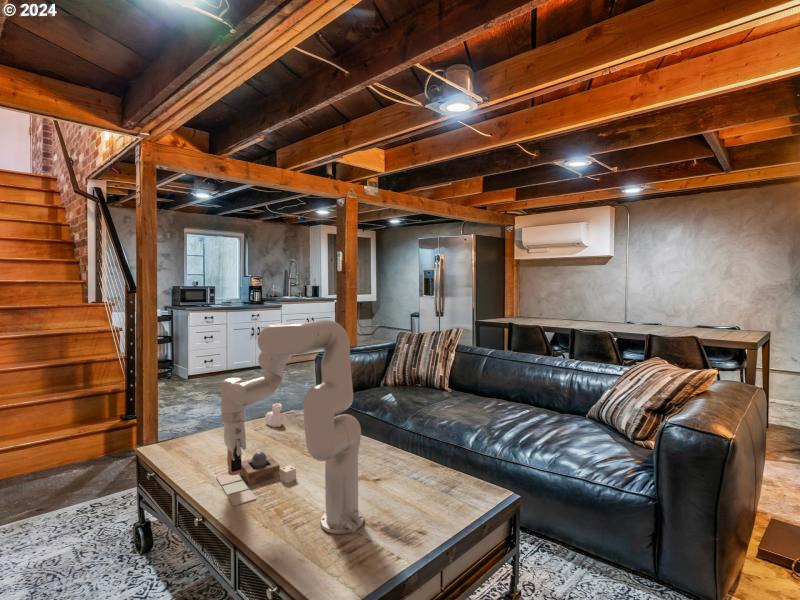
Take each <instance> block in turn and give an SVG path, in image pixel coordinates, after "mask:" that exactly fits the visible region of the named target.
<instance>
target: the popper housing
mask: <svg viewBox="0 0 800 600" xmlns="http://www.w3.org/2000/svg"><path fill="white" fill-rule="evenodd" d="M266 457H267V466H264V467H260V468H256V469H253V468H252V458H251V459H248V460H242V461H241V466H242V469H241V473H239V475H240V476H242V477H243V479H244V480H245V482H246V483H247V484H248V485H252V484H253V485H254V484H257V483H260V482H264V481H266V480H267V479H268V480H271V479H274V478H277V477H280V468H281V467H280V466H281V465H280V464H279V463H278V462H277V461H276V460H275V459H274V458H273V457H272V456H271V455H270V454H267V455H266Z"/></svg>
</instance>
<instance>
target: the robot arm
mask: <svg viewBox="0 0 800 600" xmlns="http://www.w3.org/2000/svg"><path fill="white" fill-rule="evenodd" d="M257 347H258V348H259V350H260V351H261V352H260V353H259V355H258V358H257V360H258V364H259V366H260V368H262V369H263V370H264V372H263V374H262V375H261V376H260V377H257V378H253V379H249V380H247V381H246V380H244V379H243V378H242V377H229V378H225V379H223V380H222V381H221V383H220V399H221V401H220V405H221V406H220V408H221V411H220V412H221V422H222V423H223V438H224V445H225V446H226V448H227V449H226V452H227V453H226V454H227V457H226V458H227V463H228V449H229V450H230V451H231V452H232V460H231V471H232V472H235V471H239V470H241V469H242V466H241V462H242V450H246V449H247V439H246V436H247V435H246V429H245V428H246V427H245V426H246V425H245V420H246V407H247V406H250V405H253V404H256V403H258V402H261V401H265V400H266V399H268V398H271V396H272V395H273V394H274V393H275V392H276V391H277V390H278V388H279V387H280V385H281V384H282V382H283V381H284V373H285V372H284V367H285V366H286V365H287V364H288V362H289V361H290V360H291V359H292V356H293V355H294V356H295V355H296V356H297V355H304V354H308V353H312V352H313V353H314V352H316V351H321V350H323V352H324V353H323V354H322V355H323V356H322V359H321V363H320V372H321V383H319V384H317V385H315V386H312V388H310V389H309V390H308V391H307V392H306V394H305V396H304V398H303V402H302V403H303V404H302V411H303V424H304V434H305V443H306V447H307V451H308V453H309V455H310V456H311V457H312V458H313V459H314V460H316V461H318V462H324V463H325V468H324V470H325V473H324V474H325V476H324V479H325V480H324V483H325V484H324V485H325V487H324V488H325V512H324V513H323V514H322V515H321V517H320V522H319V523H320V527H321V529H322V530H324V531H326V532H327V533H329V534H334V535H343V534H344V535H346V534H349V533H350V534H351V533H355V532H356V531H357V530H358V529H360V528H361V527H362V526H363V524H364V514H363V512H362V511H361V510H359V452H360V444H361V439H362V428H361V424H360V422H359V420H358V419H357V418H356V417H355V416H353V415H352V414H349V413H348V414H347V413H343V412H344V411H346V410H348V409H349V408H350V407H351V406H352V404H353V402H354V389H353V378H352V367H351V344H350V338H349V335H348V332H347V331H346V330H345V328H344V327H343V326H342V325H341V324H340V323H338V322H336V321H333V320H330V319H329V320H328V319H327V320H326V319H324V320H323V319H322V320H314V321H309V322H302V323H294V322H293V323H292V322H285V323H284V322H283V323H277V324H270V325H267V326H265V327H264V328H262V329H261V330H260V332H259V334H258V336H257ZM340 413H341V414H340ZM342 413H343V414H342ZM234 449H236V450H234ZM235 452H237V453H236V454H235V455H234V453H235Z"/></svg>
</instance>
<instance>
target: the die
mask: <svg viewBox="0 0 800 600" xmlns="http://www.w3.org/2000/svg"><path fill="white" fill-rule="evenodd" d="M279 479H280V481H282V482H283V481H284V483H285V484H288V483H291V482H293V481H295V480H297V469H296V467H294V466H292V465H290V464H289V465H286V466H284V467H280V476H279ZM287 482H288V483H287Z"/></svg>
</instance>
